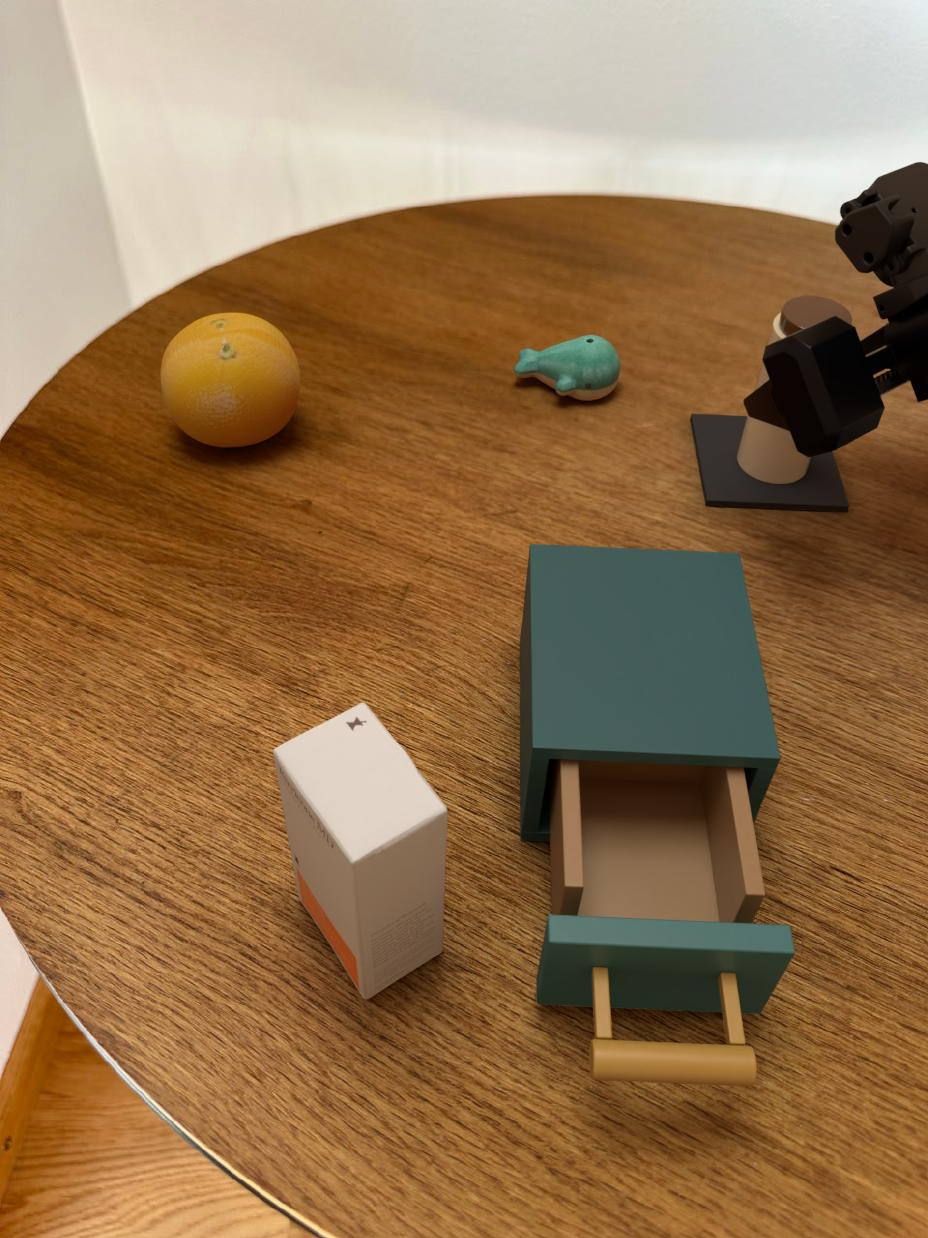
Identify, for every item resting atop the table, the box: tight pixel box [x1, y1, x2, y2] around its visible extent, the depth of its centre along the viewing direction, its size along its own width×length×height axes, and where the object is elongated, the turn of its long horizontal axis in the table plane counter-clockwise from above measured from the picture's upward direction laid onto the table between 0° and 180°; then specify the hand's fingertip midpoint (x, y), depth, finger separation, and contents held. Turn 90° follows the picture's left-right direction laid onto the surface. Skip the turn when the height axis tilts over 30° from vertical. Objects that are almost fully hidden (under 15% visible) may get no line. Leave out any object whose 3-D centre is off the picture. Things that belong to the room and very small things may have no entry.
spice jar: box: [737, 294, 853, 484], centre depth 67 cm, size 5×5×11 cm
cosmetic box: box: [272, 701, 448, 1000], centre depth 44 cm, size 6×4×12 cm
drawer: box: [535, 759, 796, 1088], centre depth 45 cm, size 16×9×6 cm, turn 178°
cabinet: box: [519, 543, 782, 843], centre depth 53 cm, size 13×11×8 cm
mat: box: [689, 413, 850, 513], centre depth 71 cm, size 9×9×1 cm
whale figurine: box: [513, 334, 621, 402], centre depth 75 cm, size 6×7×4 cm
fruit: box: [160, 312, 302, 448], centre depth 69 cm, size 9×8×8 cm
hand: (799, 382), depth 66 cm, fingers open, 9 cm apart
